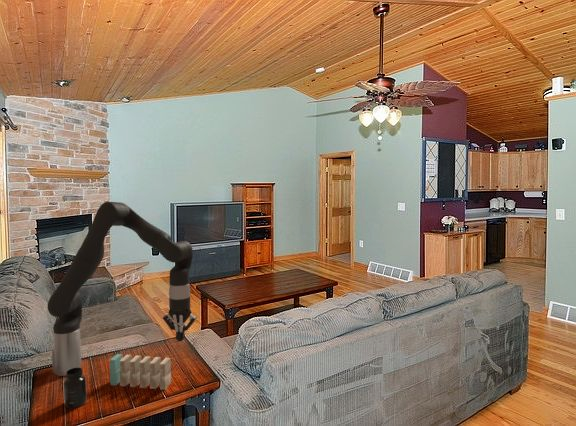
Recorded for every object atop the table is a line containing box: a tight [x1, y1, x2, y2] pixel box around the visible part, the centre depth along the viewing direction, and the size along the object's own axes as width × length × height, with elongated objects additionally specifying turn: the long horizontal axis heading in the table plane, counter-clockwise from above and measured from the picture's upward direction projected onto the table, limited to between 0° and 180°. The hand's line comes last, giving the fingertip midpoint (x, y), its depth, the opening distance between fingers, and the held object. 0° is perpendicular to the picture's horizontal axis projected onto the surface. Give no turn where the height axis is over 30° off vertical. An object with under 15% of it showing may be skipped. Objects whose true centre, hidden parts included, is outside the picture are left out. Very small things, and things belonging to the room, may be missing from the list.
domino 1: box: [109, 353, 123, 386], centre depth 144 cm, size 2×5×10 cm, turn 173°
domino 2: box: [119, 354, 133, 387], centre depth 144 cm, size 2×5×10 cm, turn 173°
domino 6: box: [159, 357, 172, 391], centre depth 142 cm, size 2×5×10 cm, turn 173°
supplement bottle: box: [62, 367, 88, 410], centre depth 130 cm, size 7×7×12 cm
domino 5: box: [149, 356, 162, 390], centre depth 143 cm, size 2×5×10 cm, turn 173°
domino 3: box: [129, 355, 142, 388], centre depth 143 cm, size 2×5×10 cm, turn 175°
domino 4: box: [139, 355, 152, 389], centre depth 143 cm, size 2×5×10 cm, turn 173°
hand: (180, 340), depth 140 cm, fingers closed
